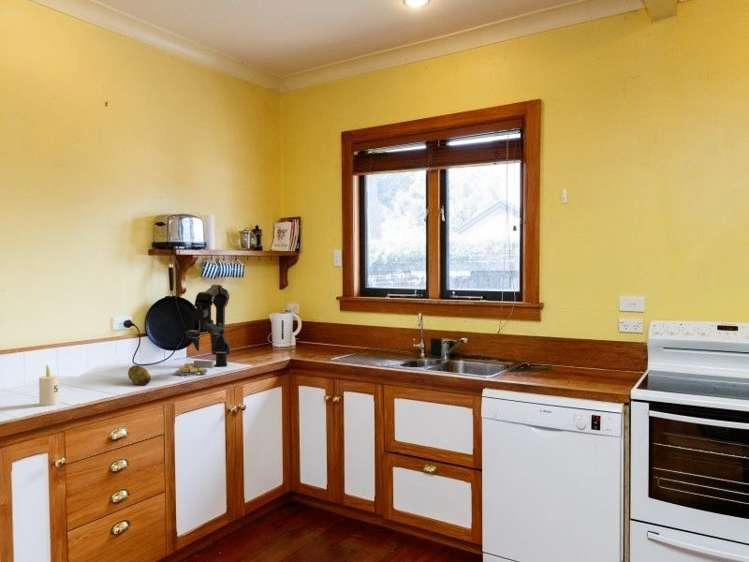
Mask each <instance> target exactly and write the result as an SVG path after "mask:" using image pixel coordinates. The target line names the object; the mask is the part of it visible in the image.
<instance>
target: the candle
mask: <svg viewBox="0 0 749 562" xmlns="http://www.w3.org/2000/svg"><path fill="white" fill-rule="evenodd" d="M45 369H46V370H45V372H46V373H45V374H46V375H42V376H39V378H38V389H39V391H38V395H39V396H38V397H39V399H38V400H39V407H40V406H41V407H49V406H56V405H58V404H59V376H58V375H56V374H55V375H53V374H52V375H51V372H50V367H49V366H48V365H45Z"/></svg>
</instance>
